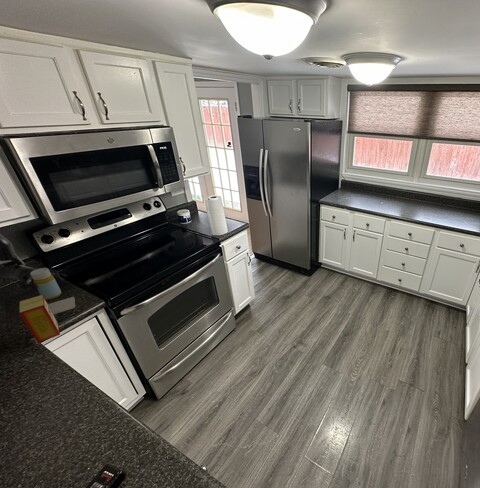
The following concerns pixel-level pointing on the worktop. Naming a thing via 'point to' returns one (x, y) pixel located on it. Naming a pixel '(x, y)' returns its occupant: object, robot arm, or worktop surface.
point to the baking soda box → (39, 318)
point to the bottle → (46, 283)
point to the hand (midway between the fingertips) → (47, 282)
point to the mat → (62, 305)
